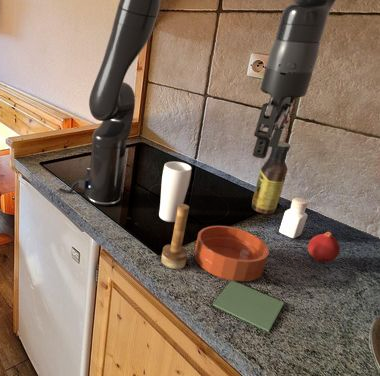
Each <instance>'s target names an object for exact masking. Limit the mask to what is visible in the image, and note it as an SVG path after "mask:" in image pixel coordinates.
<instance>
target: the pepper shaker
mask: <svg viewBox="0 0 380 376" xmlns="http://www.w3.org/2000/svg"><path fill="white" fill-rule="evenodd" d="M308 204H309V201H308V200H306V199H304V198H301V197H293V199H292V201H291V204H290V208H289V209H286V210H285V211H284V214H283V217H282V220H281V224H280V226H279V230H278V232H279V233H280V234H281V235H284V236H286V237H288V238H291V239H295V238H298V237H300V236H301V235H302V233H303V230H304V228H305V225H306V221H307V218H308V214H307V212H305V211H306V210H307V206H308Z"/></svg>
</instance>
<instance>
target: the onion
mask: <svg viewBox="0 0 380 376" xmlns="http://www.w3.org/2000/svg"><path fill="white" fill-rule="evenodd" d="M307 250H308V254H309V255H310V256H311V258H312V259H313V260H314V262H316V263H317V264H323V263H324V264H325V263H329V262H333V261H334V260H336V259H337V258H338V256H339V254H340V251H341V247H340V244H339V241H338V240H337V239H336V238H335V236H333V234H332V232H330V231H326V232H325V233H319V234H317V235H315V236H313V237H312V238H311V239H310V240H309V242H308V245H307Z"/></svg>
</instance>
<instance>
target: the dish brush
mask: <svg viewBox="0 0 380 376" xmlns="http://www.w3.org/2000/svg"><path fill="white" fill-rule="evenodd" d="M189 210H190V206H189V205H188V204H186V203H183V204H179V205H178V210H177V215H176V220H175V222H174V226H173V233H172V238H171V243H170V244H166V245H164V246H163V247H162V252H161V259H160V262H161V263H162V264H163V265H164V266H165V267H167V268H170V269H173V270H182V269H183V268H185V266H186V263H187V259H188V254H189V253H188V250H187V249H186V248H185V247H183V242H184V236H185V231H186V227H187V220H188V215H189Z"/></svg>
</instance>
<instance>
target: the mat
mask: <svg viewBox="0 0 380 376" xmlns="http://www.w3.org/2000/svg"><path fill="white" fill-rule="evenodd" d="M284 305H285V302H283V301H282V300H280V299H277V298H275V297H272V296H269V295H268V294H265V293H263V292H260V291H258V290H256V289H254V288H251V287H249V286H246V285H244V284H242V283H240V282H238V281H233V280H231V281H230V282H229V283H228V284H227V285H226V287H224V289H223V290H222V291H221V293H220V294H219V296H218V297H217V298H216V299H215V301H214V302H213V303H212V306H213V307H215V308H217V309H219V310H221V311H223V312H225V313H228V314H230V315H232V316H234V317H236V318H238V319H240V320H242V321H244V322H247V323H248V324H250V325H253V326H254V327H257V328H258V329H261V330H263V331H265V332H268V333H269V332H270V331H271V329H272V327H273V325H274V323H275V321H276V319H277V318H278V316H279V314H280V312H281V310H282V309H283V307H284Z"/></svg>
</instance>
